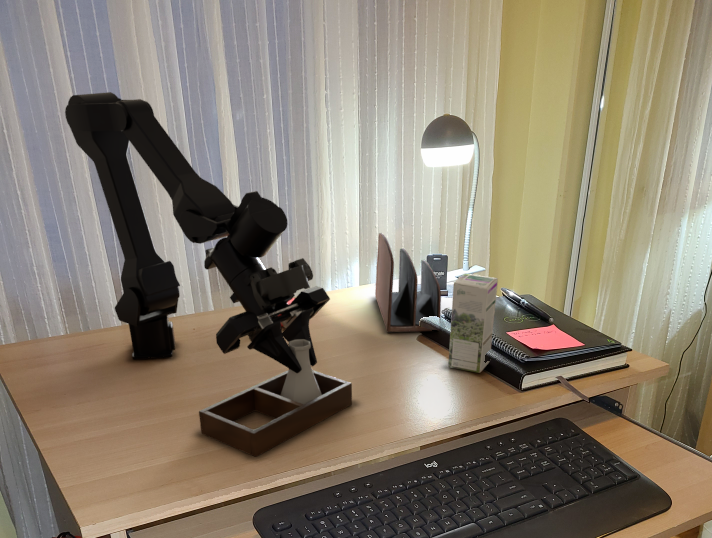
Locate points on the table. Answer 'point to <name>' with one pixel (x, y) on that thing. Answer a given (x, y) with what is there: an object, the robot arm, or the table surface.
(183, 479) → the table surface
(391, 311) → the letter holder
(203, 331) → the table surface
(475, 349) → the syrup box
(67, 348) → the table surface
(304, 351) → the flask
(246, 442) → the walnut divided tray
